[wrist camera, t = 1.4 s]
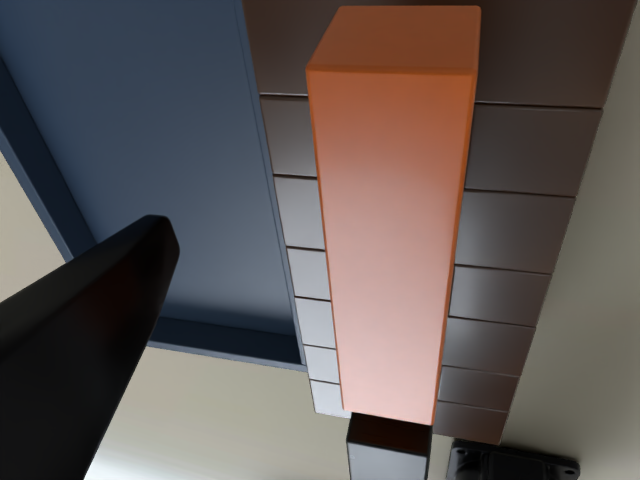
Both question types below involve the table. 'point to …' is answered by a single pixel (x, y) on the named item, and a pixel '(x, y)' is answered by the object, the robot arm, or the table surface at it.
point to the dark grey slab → (387, 448)
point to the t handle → (392, 192)
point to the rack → (479, 187)
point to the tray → (155, 157)
